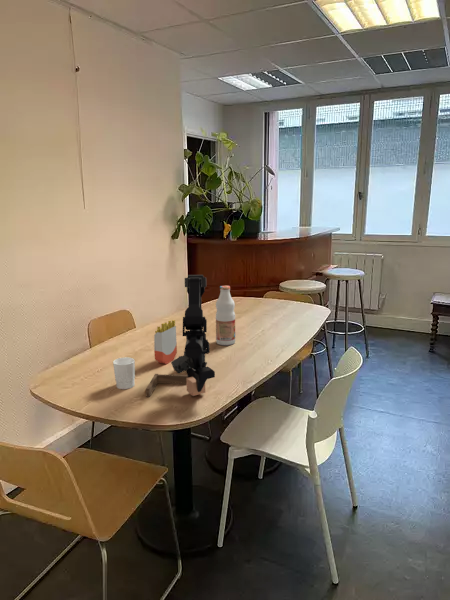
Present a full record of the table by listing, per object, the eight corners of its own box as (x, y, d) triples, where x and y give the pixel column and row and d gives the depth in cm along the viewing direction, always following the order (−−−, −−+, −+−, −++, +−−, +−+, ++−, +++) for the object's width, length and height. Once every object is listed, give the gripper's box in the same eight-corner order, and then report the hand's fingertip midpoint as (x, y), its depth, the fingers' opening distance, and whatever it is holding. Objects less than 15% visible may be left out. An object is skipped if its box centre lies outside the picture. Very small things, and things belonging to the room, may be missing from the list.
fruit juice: (212, 341, 217) (211, 286, 211) (228, 338, 222) (227, 283, 216) (222, 347, 209) (222, 289, 203) (239, 343, 215) (238, 286, 208)
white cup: (137, 381, 172) (136, 357, 170) (134, 389, 165) (132, 364, 162) (117, 381, 172) (115, 357, 170) (112, 390, 164) (111, 365, 162)
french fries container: (154, 364, 189) (152, 324, 185) (168, 356, 198) (166, 317, 194) (163, 366, 187) (161, 325, 183) (177, 357, 196) (175, 318, 192)
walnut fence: (155, 380, 172) (155, 373, 172) (189, 381, 171) (188, 374, 170) (146, 396, 159) (145, 389, 158) (182, 397, 158) (182, 390, 157)
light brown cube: (186, 390, 161) (186, 377, 160) (199, 387, 163) (198, 375, 162) (192, 395, 157) (192, 382, 155) (205, 392, 159) (205, 379, 158)
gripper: (163, 344, 160) (165, 384, 164) (185, 360, 144) (186, 404, 148) (191, 339, 165) (192, 378, 169) (215, 354, 150) (215, 396, 153)
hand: (195, 388), depth 160 cm, fingers closed on light brown cube, 5 cm apart
